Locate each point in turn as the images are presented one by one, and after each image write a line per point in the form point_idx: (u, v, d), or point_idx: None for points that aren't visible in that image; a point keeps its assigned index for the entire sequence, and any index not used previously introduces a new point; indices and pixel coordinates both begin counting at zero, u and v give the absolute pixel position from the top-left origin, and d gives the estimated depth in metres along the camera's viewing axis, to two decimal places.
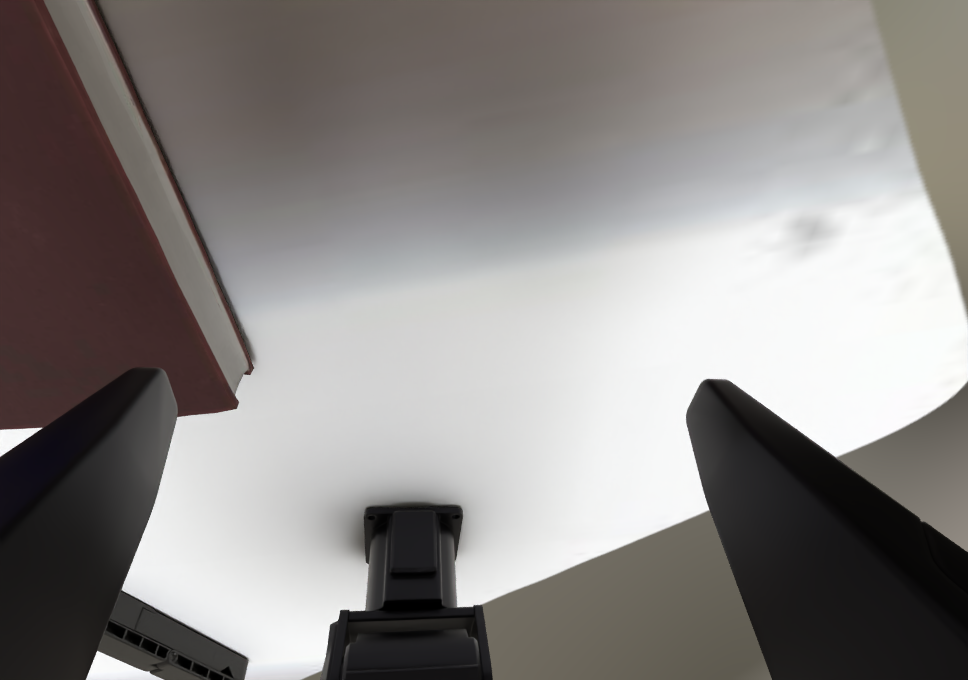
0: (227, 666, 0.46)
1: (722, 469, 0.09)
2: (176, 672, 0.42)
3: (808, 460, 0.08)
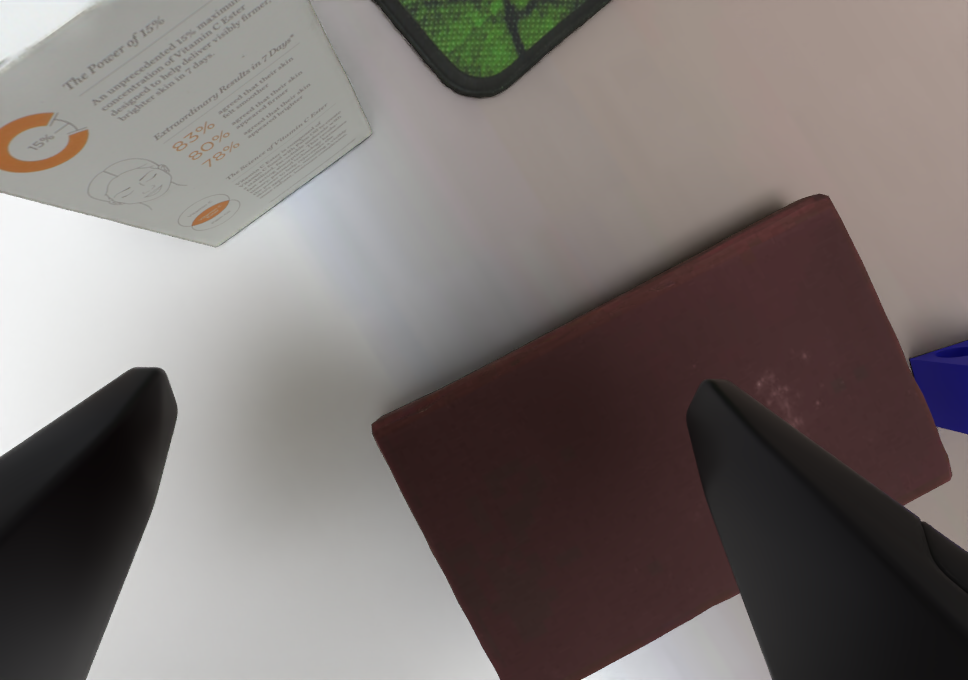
0: None
1: (722, 469, 0.09)
2: None
3: (808, 460, 0.08)
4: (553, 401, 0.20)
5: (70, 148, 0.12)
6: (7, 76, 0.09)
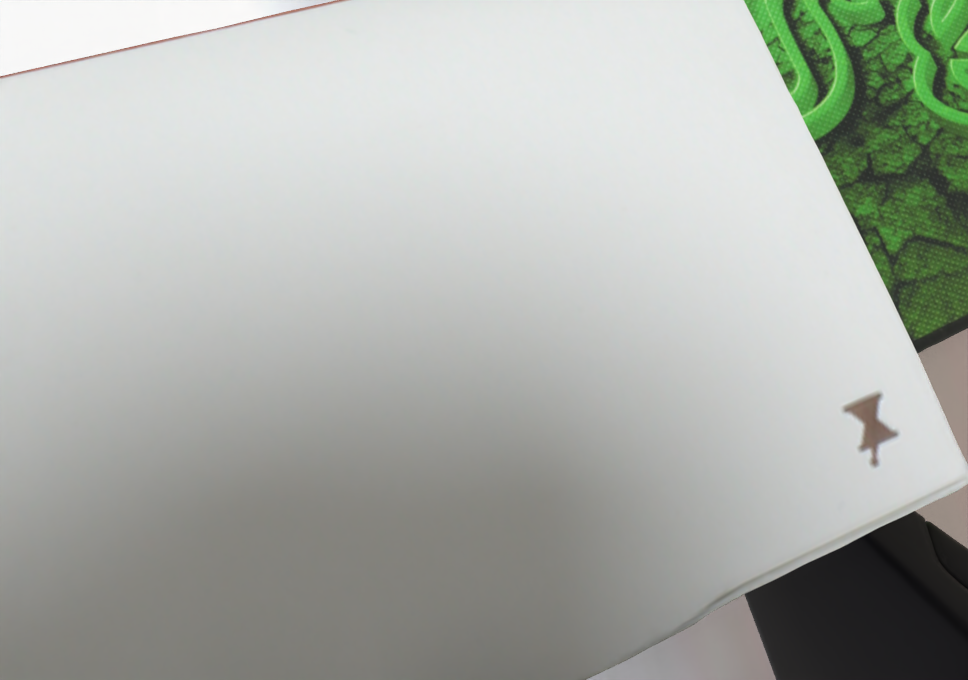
0: None
1: None
2: None
3: None
4: None
5: None
6: None
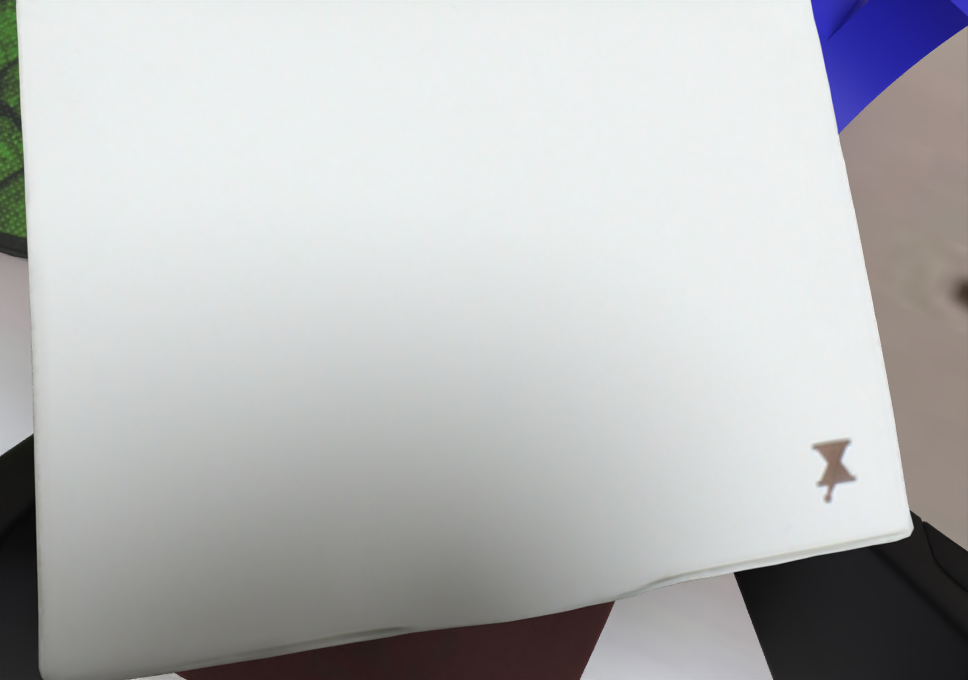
0: None
1: None
2: None
3: None
4: None
5: None
6: (383, 633, 0.05)
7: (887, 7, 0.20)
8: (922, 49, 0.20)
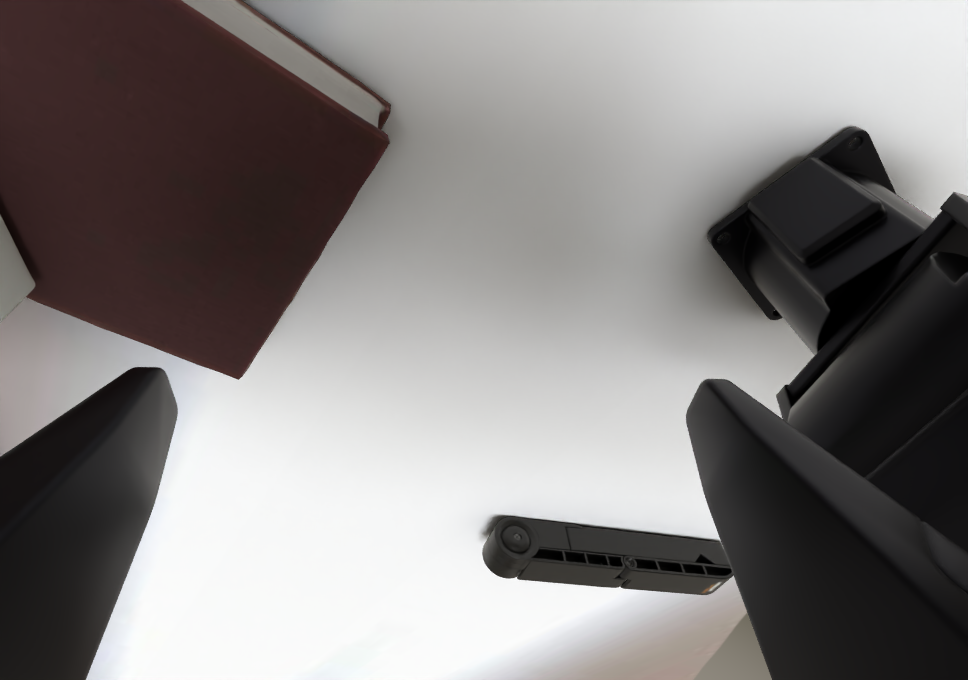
0: (699, 555, 0.38)
1: (722, 469, 0.09)
2: (646, 577, 0.36)
3: (808, 460, 0.08)
4: (70, 273, 0.18)
5: None
6: None
7: None
8: None
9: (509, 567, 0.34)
